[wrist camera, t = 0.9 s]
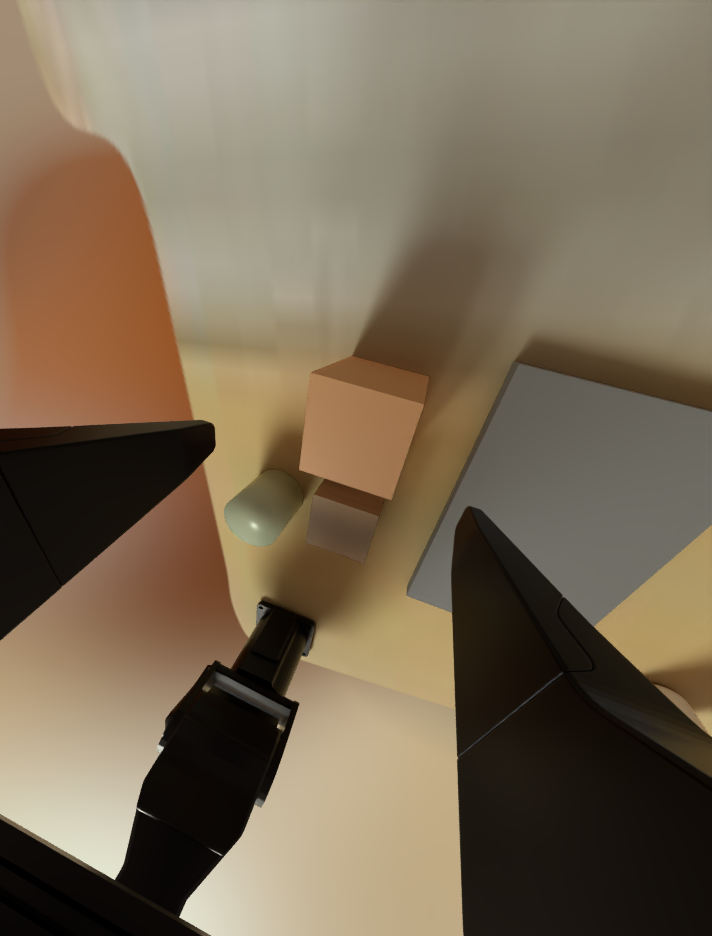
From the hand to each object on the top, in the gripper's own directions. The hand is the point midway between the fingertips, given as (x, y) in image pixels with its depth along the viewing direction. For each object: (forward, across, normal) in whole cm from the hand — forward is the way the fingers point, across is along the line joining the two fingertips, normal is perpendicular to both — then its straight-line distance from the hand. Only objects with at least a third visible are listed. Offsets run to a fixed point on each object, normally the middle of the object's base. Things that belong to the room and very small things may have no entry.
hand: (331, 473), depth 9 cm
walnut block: (+9, 0, +7) cm, 11 cm away
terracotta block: (+9, 0, 0) cm, 9 cm away
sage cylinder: (+9, +6, +9) cm, 14 cm away
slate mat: (+9, -12, +5) cm, 16 cm away
